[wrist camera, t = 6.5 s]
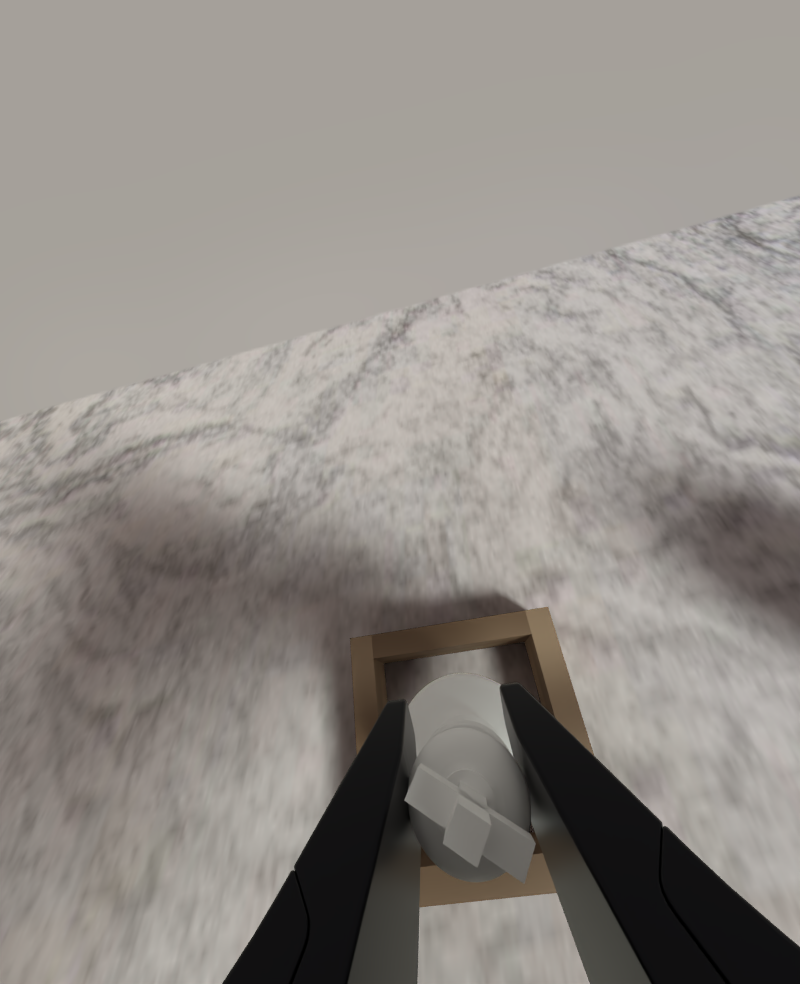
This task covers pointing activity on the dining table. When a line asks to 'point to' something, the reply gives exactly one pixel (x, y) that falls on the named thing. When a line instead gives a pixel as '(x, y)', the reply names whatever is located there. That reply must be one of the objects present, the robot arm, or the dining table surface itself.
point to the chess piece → (468, 782)
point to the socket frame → (459, 638)
